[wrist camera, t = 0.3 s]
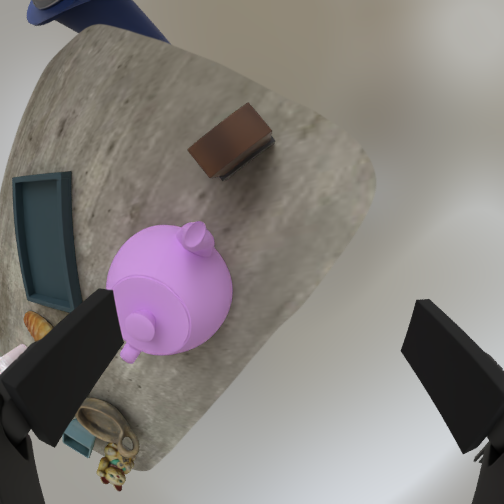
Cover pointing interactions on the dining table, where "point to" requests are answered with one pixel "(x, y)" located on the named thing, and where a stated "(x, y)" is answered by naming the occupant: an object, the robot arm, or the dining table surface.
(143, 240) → the teapot
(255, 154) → the eraser
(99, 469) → the decorative figurine
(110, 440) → the bowl
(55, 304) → the tray
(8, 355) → the smoothie
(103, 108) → the dining table surface
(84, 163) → the dining table surface
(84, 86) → the dining table surface
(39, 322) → the pastry
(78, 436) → the flower pot
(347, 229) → the dining table surface
